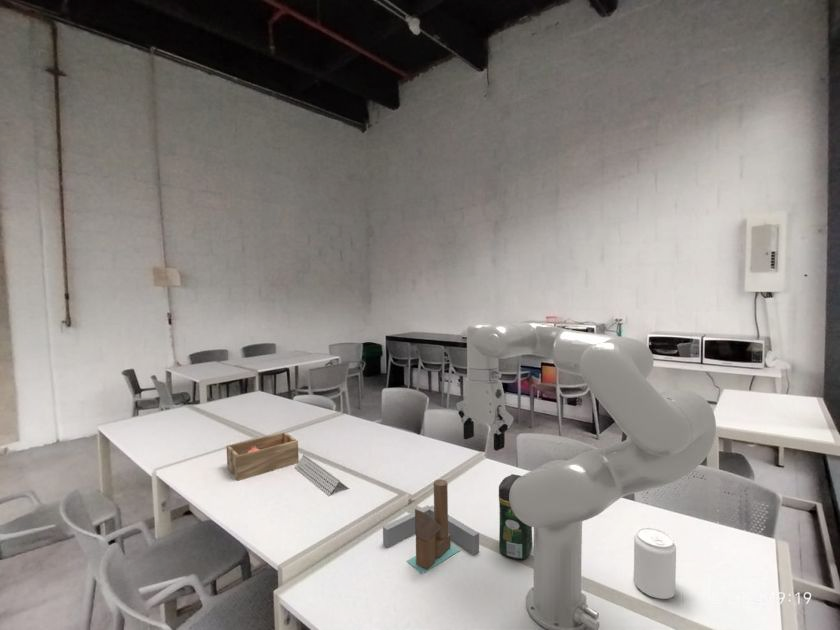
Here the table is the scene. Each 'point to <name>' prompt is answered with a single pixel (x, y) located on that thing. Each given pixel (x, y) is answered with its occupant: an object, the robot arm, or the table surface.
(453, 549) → the pad
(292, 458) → the box
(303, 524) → the table surface
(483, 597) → the table surface
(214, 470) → the table surface
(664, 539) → the beverage can
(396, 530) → the corner wall
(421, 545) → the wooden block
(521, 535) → the coffee jar
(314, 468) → the corner bead
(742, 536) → the table surface
